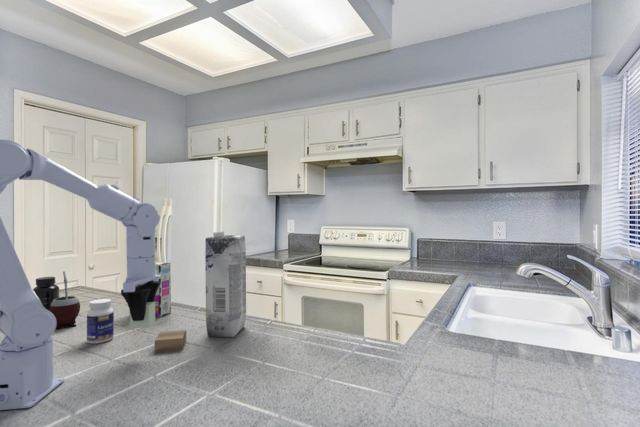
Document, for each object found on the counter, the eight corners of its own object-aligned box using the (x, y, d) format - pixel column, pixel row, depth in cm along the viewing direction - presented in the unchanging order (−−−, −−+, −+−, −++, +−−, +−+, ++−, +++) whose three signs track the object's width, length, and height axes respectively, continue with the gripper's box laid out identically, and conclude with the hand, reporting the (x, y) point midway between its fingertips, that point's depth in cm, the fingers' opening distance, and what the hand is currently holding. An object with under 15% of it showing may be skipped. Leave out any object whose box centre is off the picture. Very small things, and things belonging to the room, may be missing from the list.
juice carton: (248, 325, 96) (248, 230, 96) (236, 339, 86) (235, 232, 86) (218, 325, 97) (217, 230, 97) (202, 338, 87) (201, 232, 87)
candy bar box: (171, 313, 110) (171, 262, 110) (160, 317, 105) (159, 264, 105) (143, 310, 113) (143, 261, 113) (131, 314, 108) (131, 263, 108)
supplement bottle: (36, 314, 110) (36, 277, 110) (62, 311, 113) (61, 275, 113) (28, 320, 104) (28, 280, 104) (56, 317, 106) (56, 278, 107)
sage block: (149, 326, 75) (148, 306, 75) (129, 328, 74) (129, 307, 74) (155, 321, 79) (155, 301, 79) (136, 322, 78) (136, 302, 78)
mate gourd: (65, 330, 94) (64, 276, 94) (40, 329, 95) (40, 275, 95) (87, 322, 101) (87, 271, 101) (64, 321, 102) (64, 271, 102)
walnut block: (182, 350, 80) (182, 338, 80) (154, 353, 78) (154, 340, 78) (186, 341, 86) (186, 329, 86) (160, 343, 84) (160, 331, 84)
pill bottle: (100, 345, 83) (100, 304, 83) (81, 343, 84) (80, 303, 84) (119, 336, 89) (118, 298, 89) (100, 335, 90) (100, 297, 90)
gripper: (148, 260, 70) (149, 326, 70) (169, 252, 84) (170, 307, 84) (111, 261, 69) (112, 328, 69) (139, 253, 83) (140, 308, 83)
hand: (142, 317), depth 77 cm, fingers closed on sage block, 4 cm apart
